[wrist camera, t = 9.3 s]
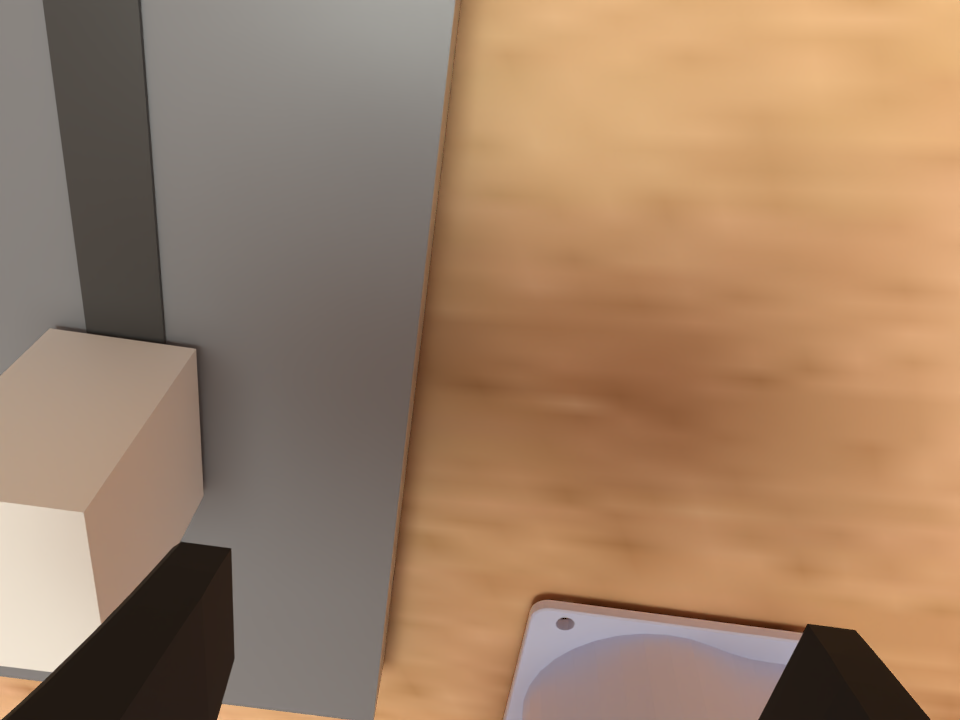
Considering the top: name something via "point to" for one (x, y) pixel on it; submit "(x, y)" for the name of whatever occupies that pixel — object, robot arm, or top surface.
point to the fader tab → (89, 483)
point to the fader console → (246, 277)
